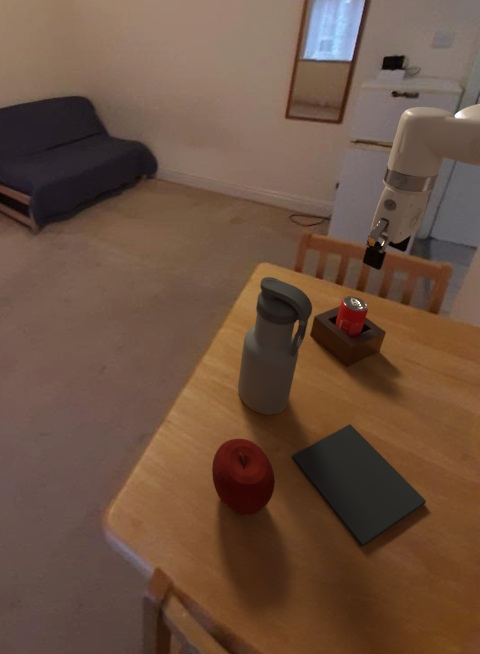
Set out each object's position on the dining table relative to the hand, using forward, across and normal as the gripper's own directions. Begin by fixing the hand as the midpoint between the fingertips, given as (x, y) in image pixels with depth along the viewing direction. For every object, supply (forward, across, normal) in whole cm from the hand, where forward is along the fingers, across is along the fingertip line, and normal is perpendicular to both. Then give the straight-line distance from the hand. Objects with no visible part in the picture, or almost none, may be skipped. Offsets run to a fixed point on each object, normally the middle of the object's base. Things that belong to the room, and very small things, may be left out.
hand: (384, 256), depth 79 cm
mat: (+26, -26, -14) cm, 40 cm away
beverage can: (+27, +1, +3) cm, 27 cm away
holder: (+26, +1, +3) cm, 27 cm away
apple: (+27, -44, -5) cm, 51 cm away
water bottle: (+27, -25, +5) cm, 37 cm away
